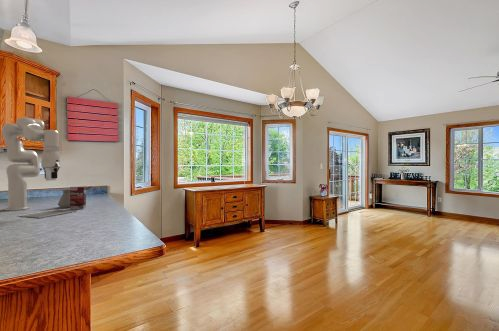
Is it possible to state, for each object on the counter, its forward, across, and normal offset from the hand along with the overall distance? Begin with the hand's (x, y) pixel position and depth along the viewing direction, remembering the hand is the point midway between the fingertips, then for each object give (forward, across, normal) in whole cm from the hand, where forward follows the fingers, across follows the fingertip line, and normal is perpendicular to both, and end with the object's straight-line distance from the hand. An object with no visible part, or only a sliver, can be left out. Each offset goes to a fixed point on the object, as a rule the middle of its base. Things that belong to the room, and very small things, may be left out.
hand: (51, 178), depth 154 cm
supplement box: (+23, -2, +20) cm, 31 cm away
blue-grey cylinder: (+1, 0, 0) cm, 1 cm away
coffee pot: (+23, -13, +27) cm, 38 cm away
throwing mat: (+23, -1, 0) cm, 23 cm away
